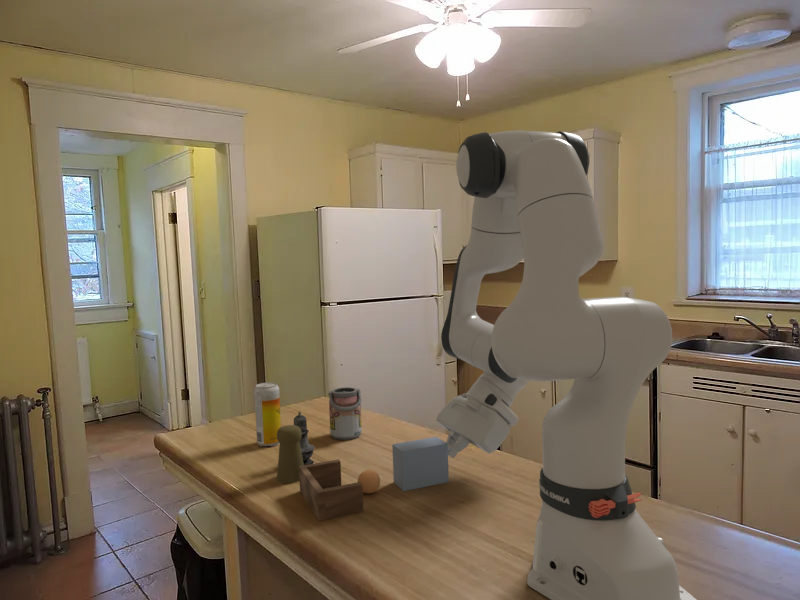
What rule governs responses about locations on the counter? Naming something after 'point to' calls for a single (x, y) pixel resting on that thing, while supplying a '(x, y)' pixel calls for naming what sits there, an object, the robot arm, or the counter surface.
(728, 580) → the counter surface
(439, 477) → the block
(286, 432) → the olive pawn
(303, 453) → the grey chess bishop
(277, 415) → the beer can
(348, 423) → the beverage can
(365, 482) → the ball
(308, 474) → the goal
